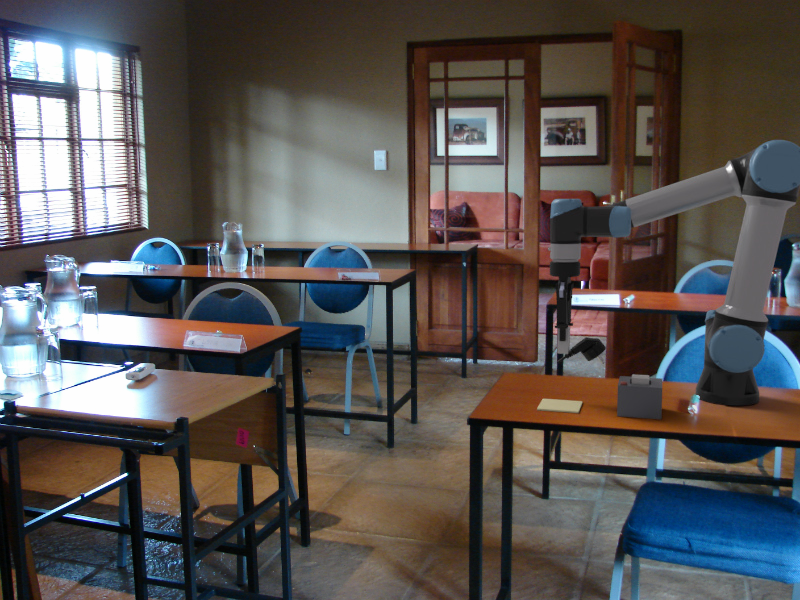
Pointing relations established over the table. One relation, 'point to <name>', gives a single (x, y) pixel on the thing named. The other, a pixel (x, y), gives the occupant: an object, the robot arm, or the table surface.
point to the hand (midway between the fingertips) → (563, 352)
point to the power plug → (587, 349)
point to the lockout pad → (560, 405)
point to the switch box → (639, 398)
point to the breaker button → (640, 379)
